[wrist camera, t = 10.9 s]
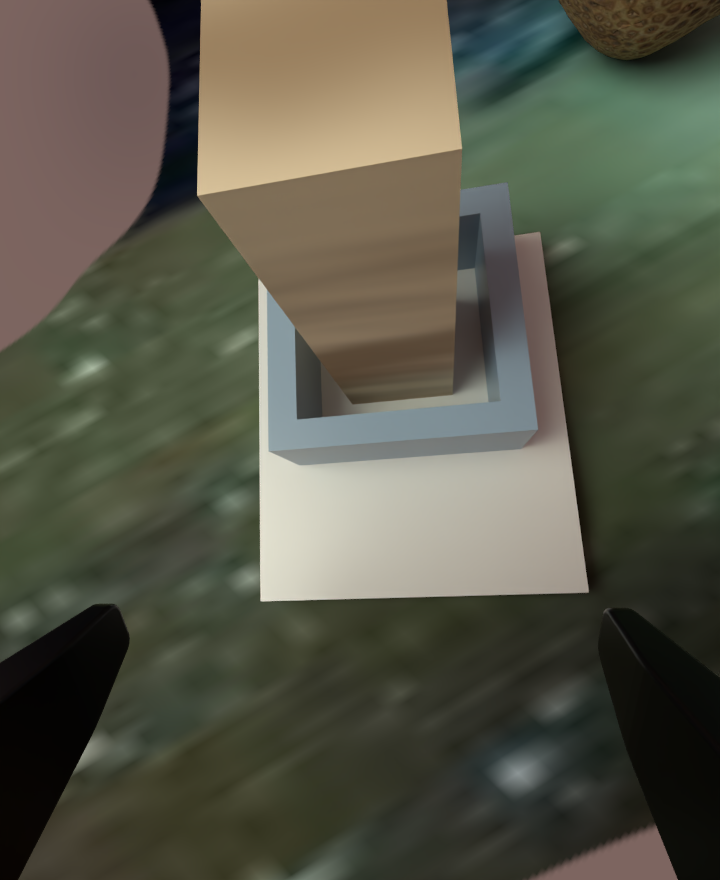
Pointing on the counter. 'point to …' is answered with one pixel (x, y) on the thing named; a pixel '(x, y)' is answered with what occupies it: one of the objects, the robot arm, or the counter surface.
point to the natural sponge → (637, 23)
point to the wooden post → (341, 177)
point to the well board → (426, 449)
